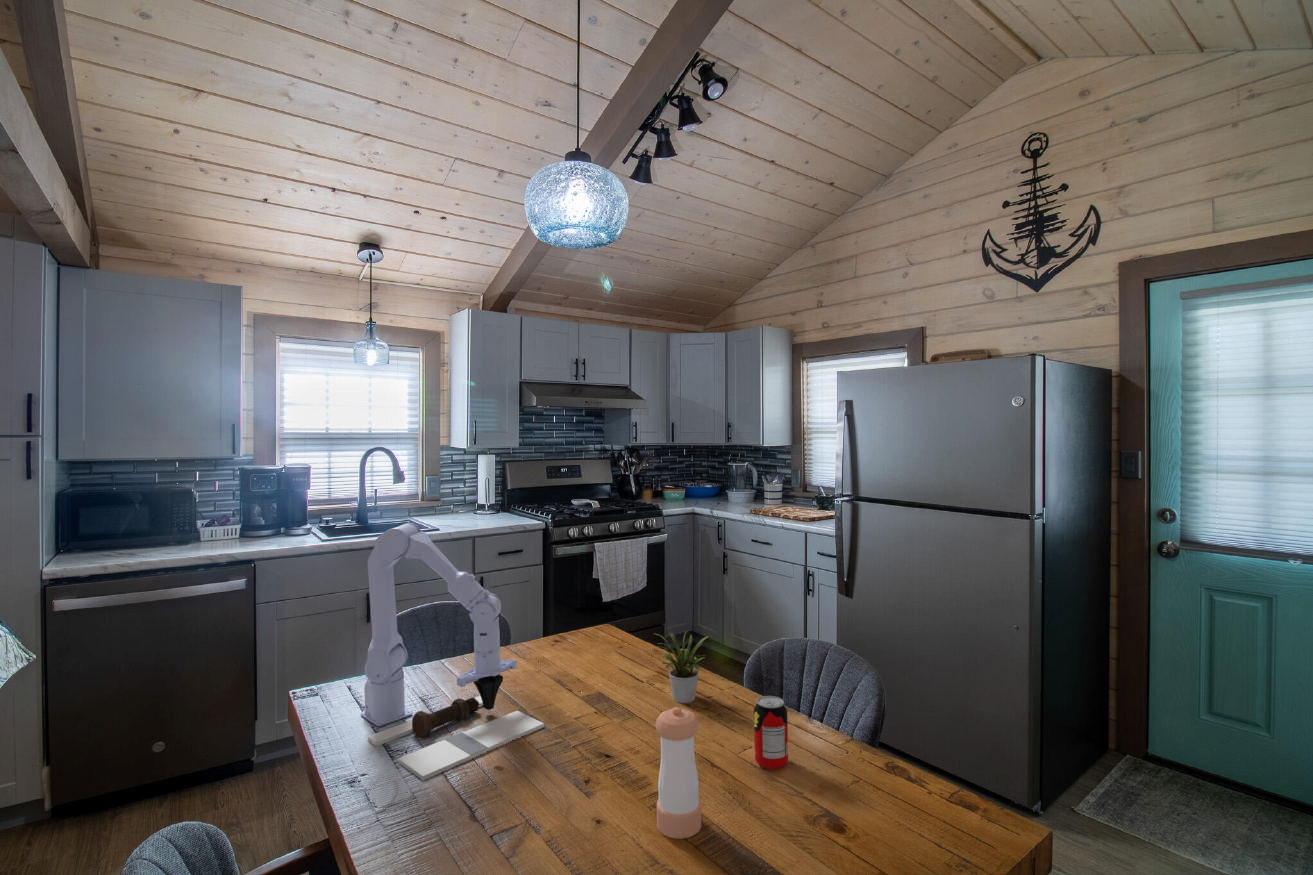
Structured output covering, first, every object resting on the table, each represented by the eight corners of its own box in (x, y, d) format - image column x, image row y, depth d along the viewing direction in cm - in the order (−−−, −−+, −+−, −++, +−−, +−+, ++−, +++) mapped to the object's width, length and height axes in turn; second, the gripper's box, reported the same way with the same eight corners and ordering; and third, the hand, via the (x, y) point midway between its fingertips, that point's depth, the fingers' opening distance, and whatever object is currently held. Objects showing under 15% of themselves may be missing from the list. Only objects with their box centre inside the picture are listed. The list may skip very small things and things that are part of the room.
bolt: (477, 720, 148) (420, 745, 136) (465, 705, 151) (408, 728, 139) (486, 701, 147) (428, 724, 135) (473, 686, 149) (416, 707, 137)
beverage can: (790, 757, 125) (789, 696, 125) (785, 774, 119) (784, 710, 119) (758, 753, 127) (756, 692, 127) (752, 769, 121) (750, 706, 121)
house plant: (639, 706, 150) (638, 636, 150) (661, 684, 163) (660, 619, 162) (697, 715, 144) (696, 643, 144) (715, 691, 157) (714, 625, 157)
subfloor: (367, 740, 136) (367, 736, 136) (483, 697, 156) (483, 694, 156) (422, 780, 120) (422, 775, 120) (544, 726, 140) (543, 723, 140)
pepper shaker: (655, 813, 108) (652, 699, 108) (698, 809, 108) (695, 697, 108) (658, 840, 101) (656, 719, 100) (704, 837, 101) (702, 716, 101)
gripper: (468, 661, 139) (469, 724, 139) (523, 644, 150) (525, 702, 150) (451, 654, 144) (453, 714, 144) (506, 638, 154) (507, 694, 155)
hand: (488, 707), depth 147 cm, fingers closed
